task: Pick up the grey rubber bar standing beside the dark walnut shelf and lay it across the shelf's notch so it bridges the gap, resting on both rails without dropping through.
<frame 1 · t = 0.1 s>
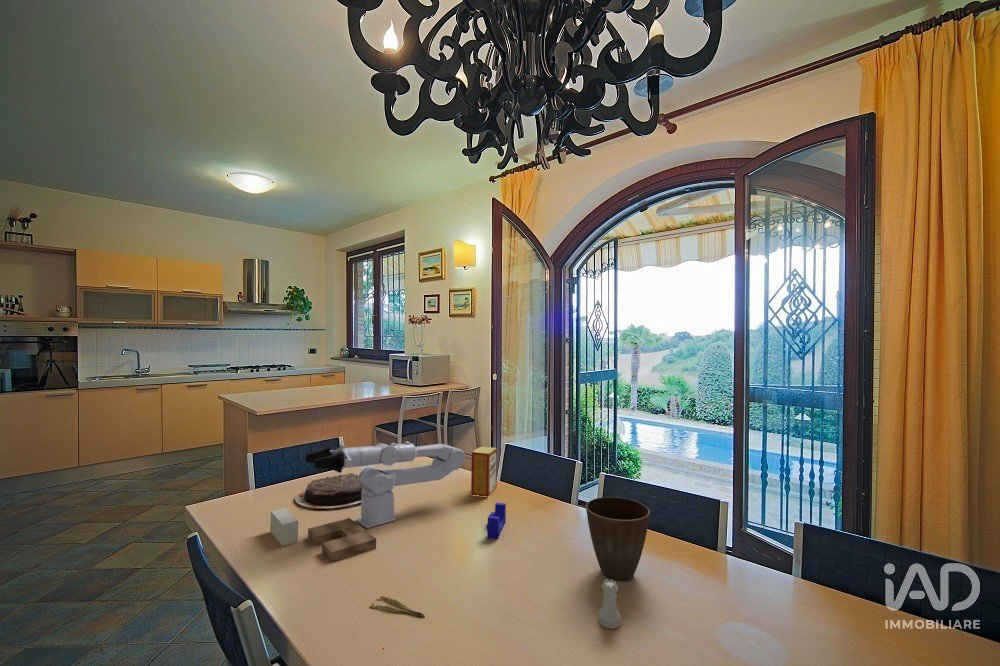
hand: (310, 461, 124), 22 cm above the table, tool horizontal, fingers open, 7 cm apart
cable clip: (494, 531, 132), on the table
baking soda box: (484, 493, 164), on the table
plant pot: (616, 574, 107), on the table
chocolate cake: (337, 497, 158), on the table
tongs: (399, 612, 93), on the table
notched shelf: (341, 542, 122), on the table
grey rubber bar: (283, 537, 125), on the table
rook chess piece: (609, 623, 89), on the table
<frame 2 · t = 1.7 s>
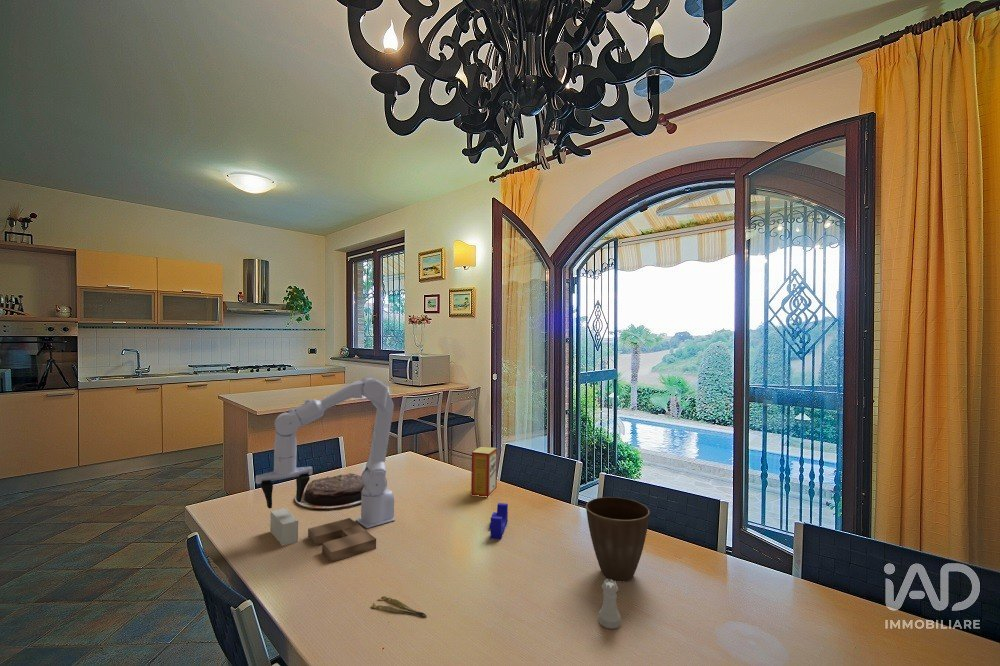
hand: (284, 504, 125), 9 cm above the table, tool pointing down, fingers open, 7 cm apart
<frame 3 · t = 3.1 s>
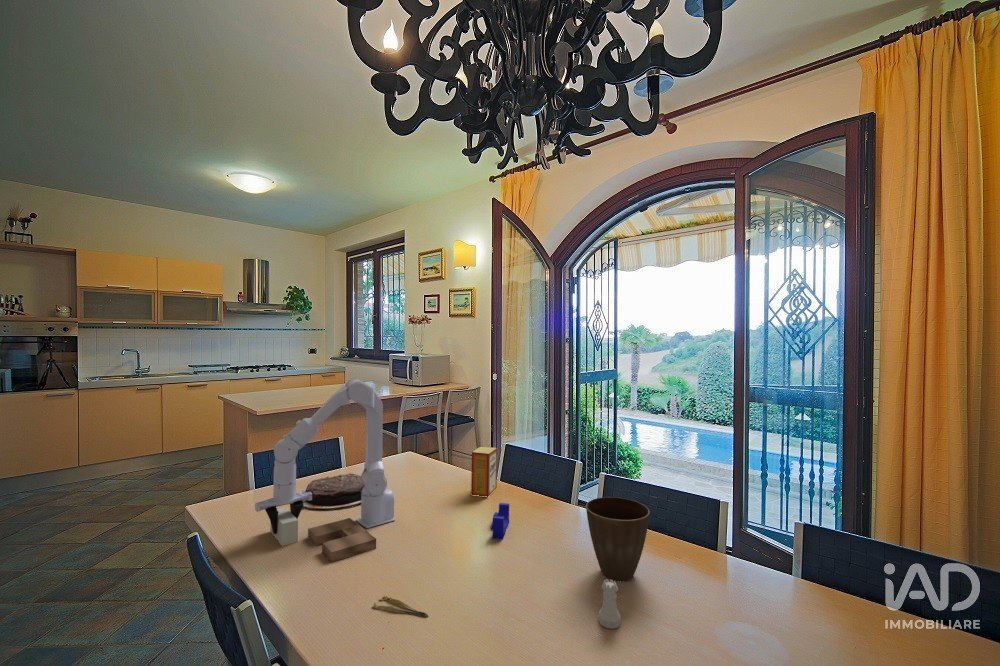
hand: (283, 530, 125), 2 cm above the table, tool pointing down, fingers closed on grey rubber bar, 4 cm apart
grey rubber bar: (283, 536, 125), on the table, touching gripper
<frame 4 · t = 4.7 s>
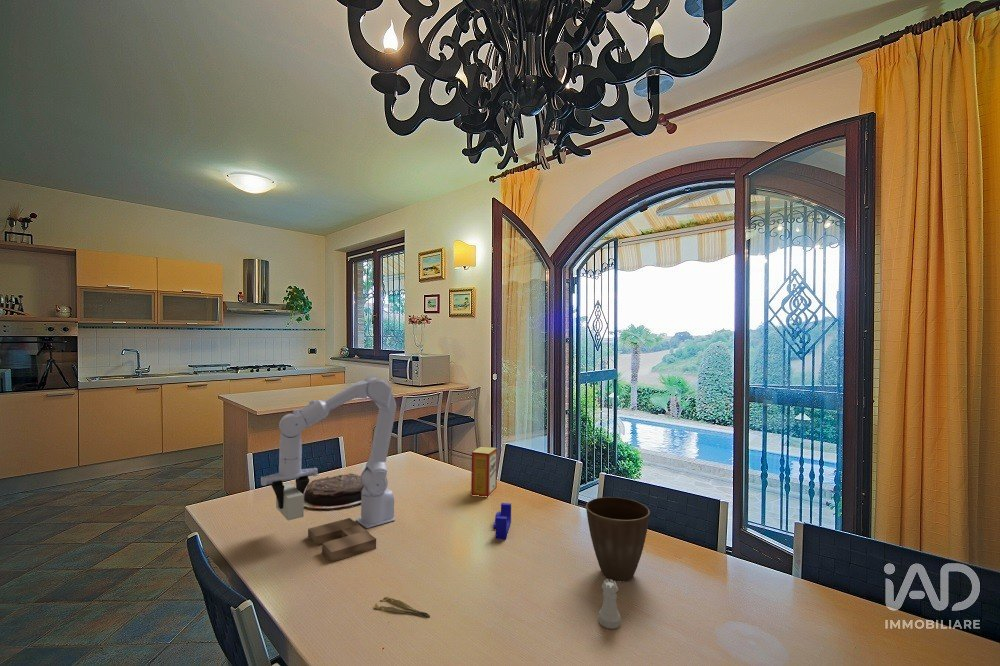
hand: (289, 505, 125), 9 cm above the table, tool pointing down, fingers closed on grey rubber bar, 4 cm apart
grey rubber bar: (289, 512, 125), point 7 cm above the table, touching gripper
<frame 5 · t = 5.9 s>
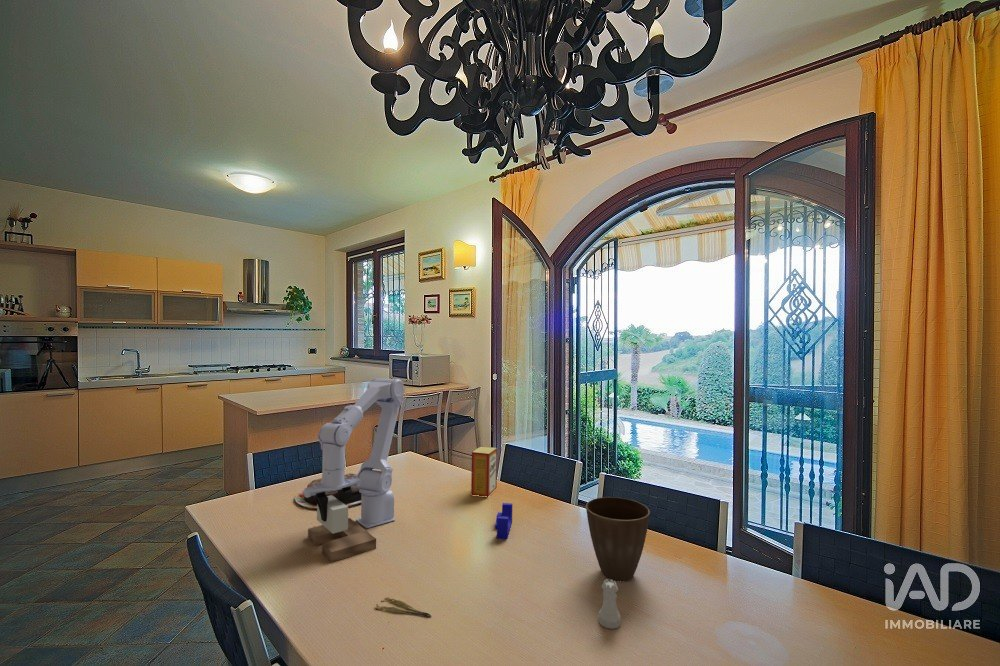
hand: (332, 518, 120), 7 cm above the table, tool pointing down, fingers closed on grey rubber bar, 4 cm apart
grey rubber bar: (332, 524, 120), point 6 cm above the table, touching gripper
when the fingers open (5 cm above the table, at t = 6.7 s): grey rubber bar stays where it is, resting on notched shelf.
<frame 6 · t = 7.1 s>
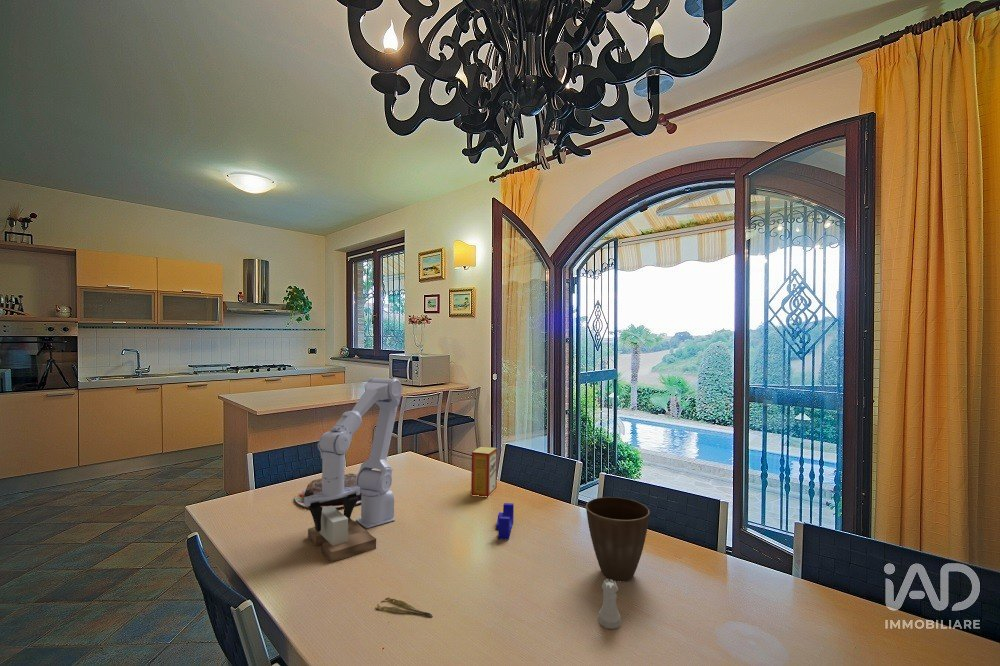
hand: (332, 526, 120), 5 cm above the table, tool pointing down, fingers open, 7 cm apart
grey rubber bar: (331, 535, 120), point 2 cm above the table, touching notched shelf
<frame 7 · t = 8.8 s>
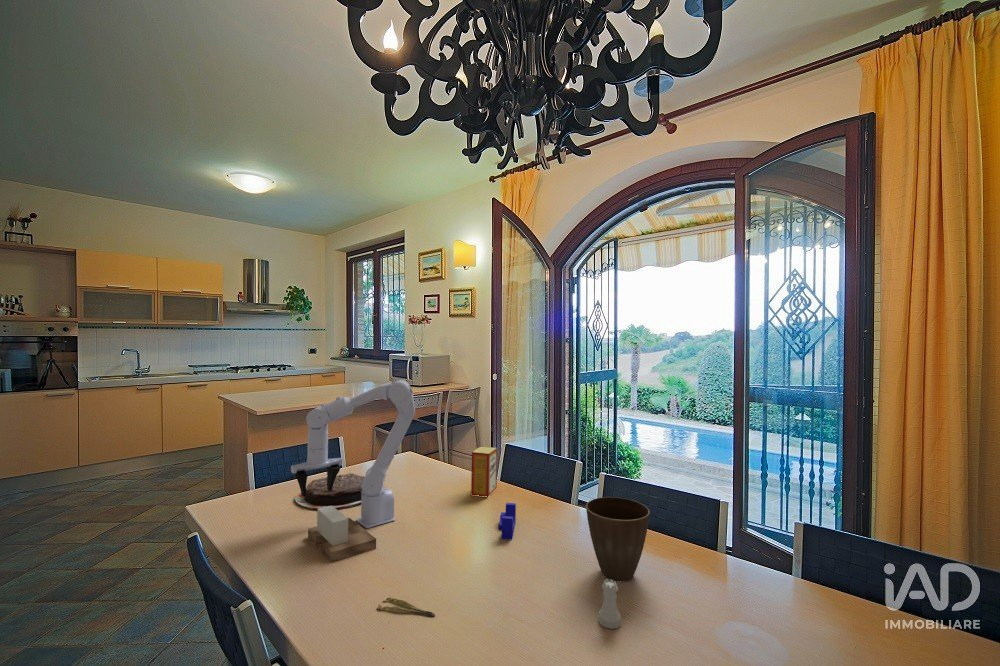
hand: (316, 492, 134), 9 cm above the table, tool pointing down, fingers open, 7 cm apart
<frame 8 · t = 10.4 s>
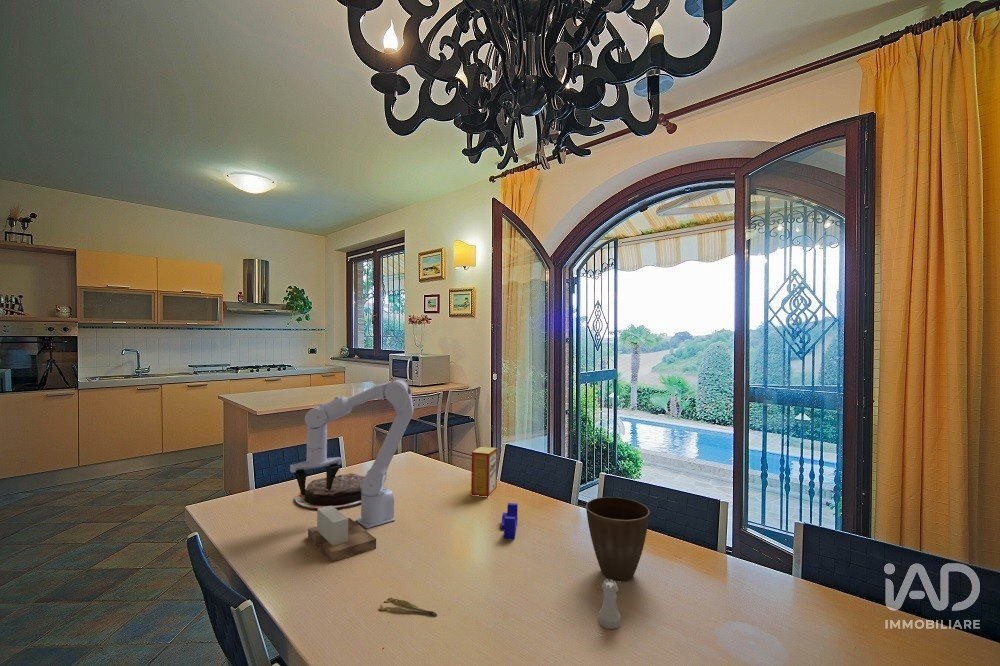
hand: (316, 491, 135), 9 cm above the table, tool pointing down, fingers open, 7 cm apart
at the end: grey rubber bar 0.3 cm from the target spot on the notched shelf, point 2.5 cm above the notched shelf's base; grey rubber bar tilted 0°; the gripper is holding nothing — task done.
